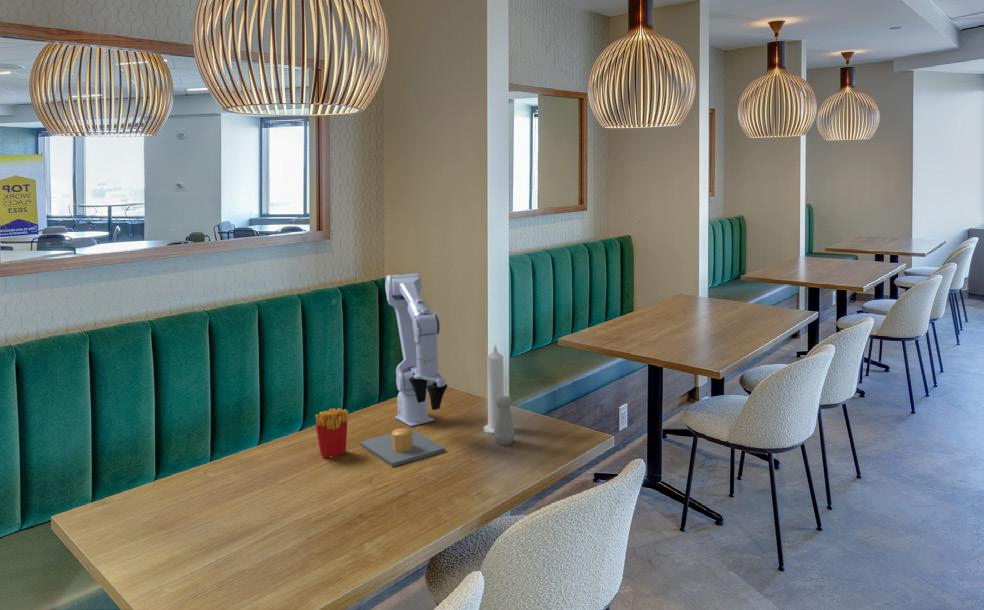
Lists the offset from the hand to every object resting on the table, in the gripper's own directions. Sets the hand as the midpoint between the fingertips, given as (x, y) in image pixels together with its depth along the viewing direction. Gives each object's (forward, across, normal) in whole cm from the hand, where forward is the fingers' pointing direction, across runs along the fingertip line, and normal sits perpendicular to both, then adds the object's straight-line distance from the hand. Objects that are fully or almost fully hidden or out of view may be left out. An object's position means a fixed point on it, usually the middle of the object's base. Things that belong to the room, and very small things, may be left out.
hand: (428, 405), depth 205 cm
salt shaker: (+10, +16, +14) cm, 23 cm away
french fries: (+10, -6, -26) cm, 28 cm away
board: (+9, +2, -10) cm, 14 cm away
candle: (+10, +7, +18) cm, 22 cm away
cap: (+8, +4, -11) cm, 14 cm away
